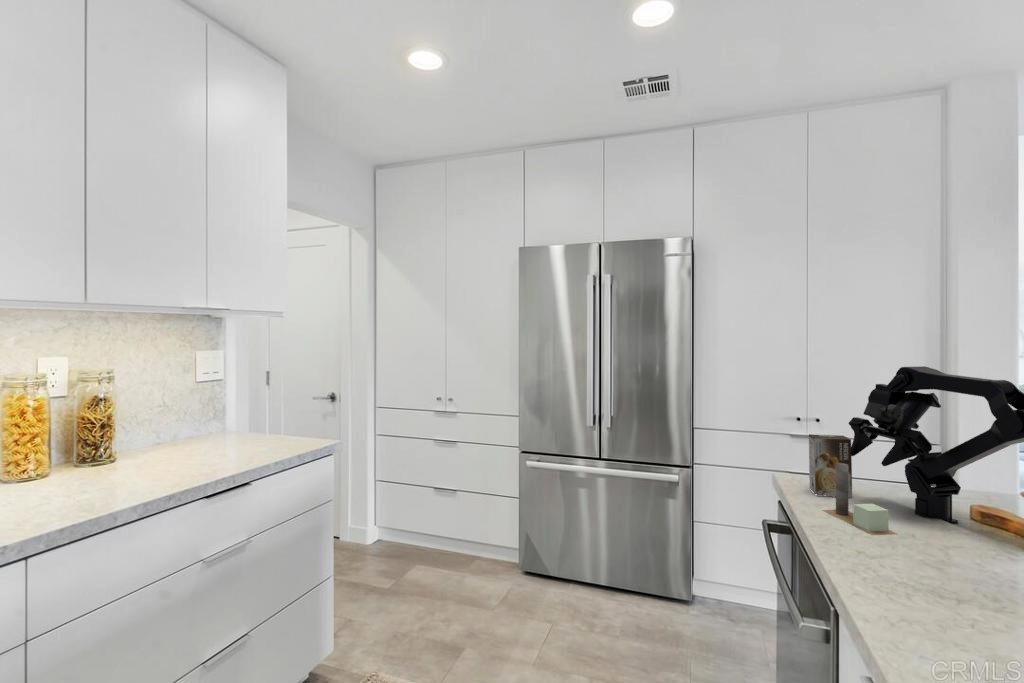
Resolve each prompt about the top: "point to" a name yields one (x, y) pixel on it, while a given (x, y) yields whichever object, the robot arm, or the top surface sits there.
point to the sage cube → (871, 517)
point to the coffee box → (828, 462)
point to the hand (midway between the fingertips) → (866, 459)
